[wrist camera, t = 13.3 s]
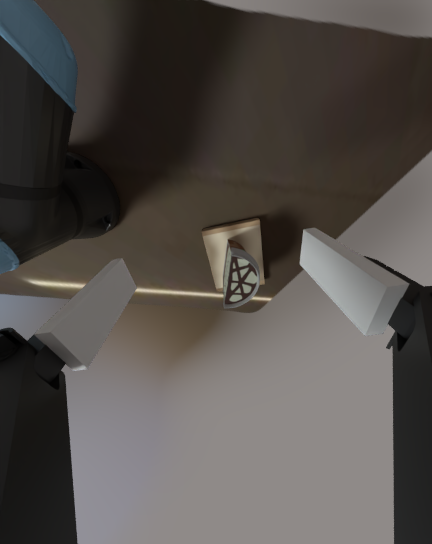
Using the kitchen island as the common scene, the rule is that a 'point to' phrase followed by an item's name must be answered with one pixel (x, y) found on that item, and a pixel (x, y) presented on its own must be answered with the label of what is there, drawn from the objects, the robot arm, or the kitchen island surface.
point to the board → (237, 231)
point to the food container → (239, 275)
